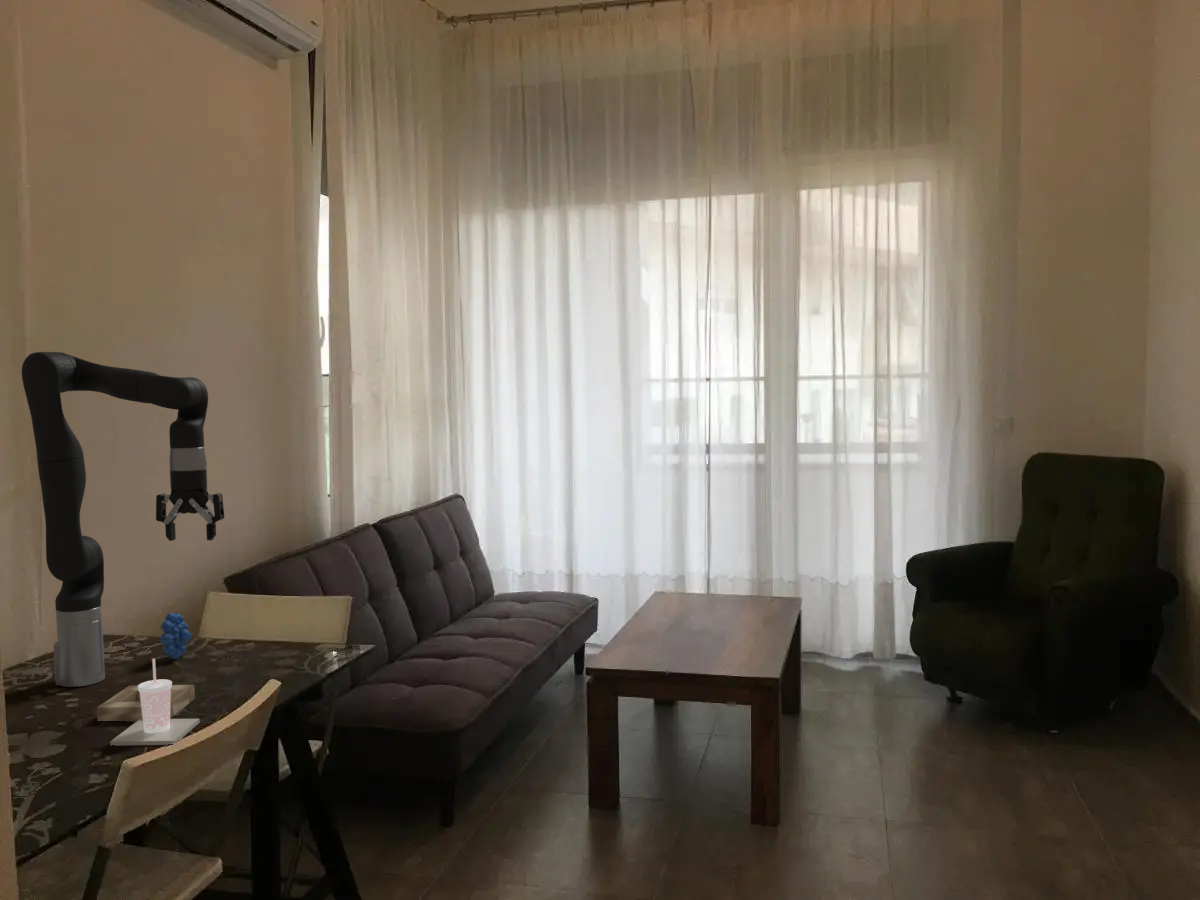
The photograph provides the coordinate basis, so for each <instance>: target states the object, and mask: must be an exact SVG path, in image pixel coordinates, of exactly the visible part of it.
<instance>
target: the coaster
mask: <svg viewBox="0 0 1200 900" xmlns="http://www.w3.org/2000/svg"><path fill="white" fill-rule="evenodd" d="M200 721H201V720H200V718H170V728H169V729H168V730H166V731H163V732H159V733H146V732H145V731H144V725H143V719H139V720H138V721H137V722H133V724H131V725H130V726H128V728H126V729H124V731H123V732H120V733H119V734H118V735H117V736H115V738H113V739H112V740H111V741H110V742H109V743H110V746H112V745H114V746H115V747H116V746H120V747H121V746H169V745H168V744H171V743H174V742H176V741H178V740H179V741H181V739H183V738H184V737H185V736H187V734H188V733H189V732H191V730H193V729H194V728H195V727H196V726H197V725H199V723H200ZM179 741H178V742H179Z"/></svg>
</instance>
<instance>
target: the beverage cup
mask: <svg viewBox="0 0 1200 900" xmlns="http://www.w3.org/2000/svg"><path fill="white" fill-rule="evenodd" d="M151 661H152V678H153V679H152V680H147V681H144V682H141V683H139V684H138V685H137V686H138V691H139V692H140V700H141V708H142V717H143V725H144V731H145V732H146V733H159V732H163V731H166V730H168V729H169V728H170V719H171V718H170V699H171V687H172V685H173V681H172V680H170V679H167V678H166V679H163V678H161V679H157V668H156V658H152V660H151Z"/></svg>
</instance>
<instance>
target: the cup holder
mask: <svg viewBox="0 0 1200 900" xmlns="http://www.w3.org/2000/svg"><path fill="white" fill-rule="evenodd" d="M195 693H196V691H195V684H172V687H171V699H170V719H172V718H173V717H174V716H175V715H177V714H178V713H179V712H180V711H181V710H183V708H185V707H186V706H188V704H189V705H190V703H191V702H193V700H195V699H196V694H195ZM96 716H97V717H96V719H97V722H98V721H127V722H128V723H129V721H130V722H133V723H135V722H137V721H138V720H139V719H143V717H142V708H141V700H140V692H139V691H138V685H128V686H126V687H125V688H124V689H122V690H120V691H119V692H118V693H116V694H114V695H113V696H112V697H111V698H109V699H108V700H106V701H105V702H103V703H101V704H100V705H98V706H97V707H96Z"/></svg>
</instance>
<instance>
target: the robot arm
mask: <svg viewBox="0 0 1200 900" xmlns="http://www.w3.org/2000/svg"><path fill="white" fill-rule="evenodd" d="M21 379H22V385H23V389H24V392H25V397H26V401H27V405H28V410H29V413H30V418H31V424H32V431H33V437H34V438H33V439H34V444H35V449H36V462H37V469H38V470H37V471H38V476H39V483H40V487H41V495H42V496H41V497H42V498H41V499H42V505H43V513H44V519H45V520H44V521H45V556H46V557H45V558H46V559H45V560H46V565H47V568H48V571H49V572H50V573H51V575H52V576H53V577H54V578H55V579H57V580H59V581H60V582H62V585H61V587H60V591H59V592H58V593H57V595H56V596H55V597H56V598H55V601H54V602H55V603H54V604H55V618H56V619H55V620H56V634H57V635H56V640H57V642H55V643H54V644H53V661H54V678H55V686H61V687H67V688H74V687H75V688H76V687H84V686H85V687H86V686H91V685H95V684H97V683H98V684H99V683H100V682H102V681H104V680H105V679H106V674H105V673H106V668H105V651H104V633H103V632H104V631H103V613H102V611H103V610H102V597H103V593H104V590H105V589H104V588H105V573H104V572H105V564H104V563H105V562H104V553H103V549H102V547H101V545H100V543H99V542H98V541H97V540H96V539H95V538H92V537H91V536H87V535H83V534H82V528H81V508H82V504H83V499H84V495H85V491H86V490H85V489H86V483H87V473H86V471H87V470H86V464H85V458H84V457H85V454H84V451H83V448H82V445H81V443H80V441H79V439H78V438H77V436H76V435H75V433H74V432H73V430H72V428H71V426H70V425H69V423H68V422H67V420H66V417H65V414H64V411H63V405H62V398H61V397H62V396H61V393H66V392H96V393H102V394H104V395H109V396H111V397H114V398H117V399H120V400H124V401H125V400H126V401H129V402H137V403H141V404H142V403H143V404H152V405H154V406H156V407H157V406H158V407H161V408H165V409H171V410H177V417H176V420H174V421H172V422H171V423H170V425H169V432H168V433H169V458H168V460H169V461H168V462H169V479H170V480H169V482H170V494H166V493H164V492H163V493H160V494H157V495H156V497H155V498H156V499H155V501H156V502H155V503H156V504H155V509H156V510H155V520H156V521H157V522H161V523H164V525H165V527H164V528H165V536H166V539H168V541H169V542H171V541H175V540H176V536H177V535H176V523H175V521H176V519H177V518H178V516H179V515H183V514H184V515H185V514H187V513H188V514H199V515H200V516H201V517H202V519H204V520H205V521H206V522H207V523H206V524H205V525H206V527H205V530H206V540H207V541H213V540H214V539H215V538H216V536H217V526H216V525H217V524H216V523H217V522H219V521H221V520H224V519H225V511H224V510H225V509H224V499H223V494H222V492H217V493H210V494H209V492H208V477H207V476H208V475H207V473H208V472H207V465H208V463H207V456H206V450H205V436H204V426H205V422H206V417H207V412H208V405H209V393H208V390H207V389H208V388H207V387H206V385H205V383H204V382H203V381H202V380H201V379H199V378H198V377H197V378H196V377H193V376H191V377H190V376H189V377H176V376H166V375H160V374H158V373H156V372H152V371H148V370H140V369H133V368H126V367H117V366H110V365H109V366H108V365H104V364H98V363H96V362H91V361H88V360H85V359H83V358H79V357H77V356H74V355H70V354H67V353H65V352H61V351H36V352H32V353H30V354H28V355H27V357H26V358H25V359H24V361H23V362H22V366H21ZM209 500H210V503H211V504H213V512H214V513H213V512H212V509H210V507H209V505H207V503H208V502H209ZM169 501H170V502H171V504H172V505H173V507H172V508H171V510H170V511H169V512H168V515H167V504H169Z"/></svg>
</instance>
